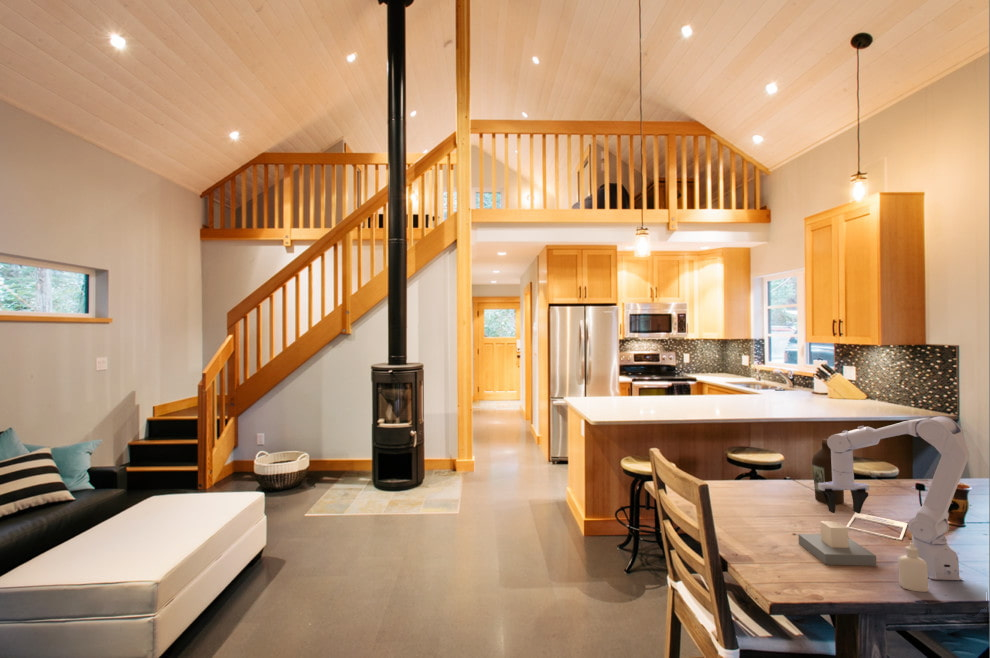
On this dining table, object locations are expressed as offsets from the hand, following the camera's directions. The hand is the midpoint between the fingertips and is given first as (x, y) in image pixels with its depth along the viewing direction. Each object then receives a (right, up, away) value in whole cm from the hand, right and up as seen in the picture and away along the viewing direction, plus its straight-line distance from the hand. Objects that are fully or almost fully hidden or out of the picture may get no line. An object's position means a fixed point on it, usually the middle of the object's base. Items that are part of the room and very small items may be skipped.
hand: (844, 512), depth 147 cm
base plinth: (-9, -10, -7) cm, 15 cm away
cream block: (-9, -7, -7) cm, 13 cm away
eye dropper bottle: (-3, -10, -27) cm, 29 cm away
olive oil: (+22, -11, +37) cm, 44 cm away
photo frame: (+21, -10, +12) cm, 26 cm away
